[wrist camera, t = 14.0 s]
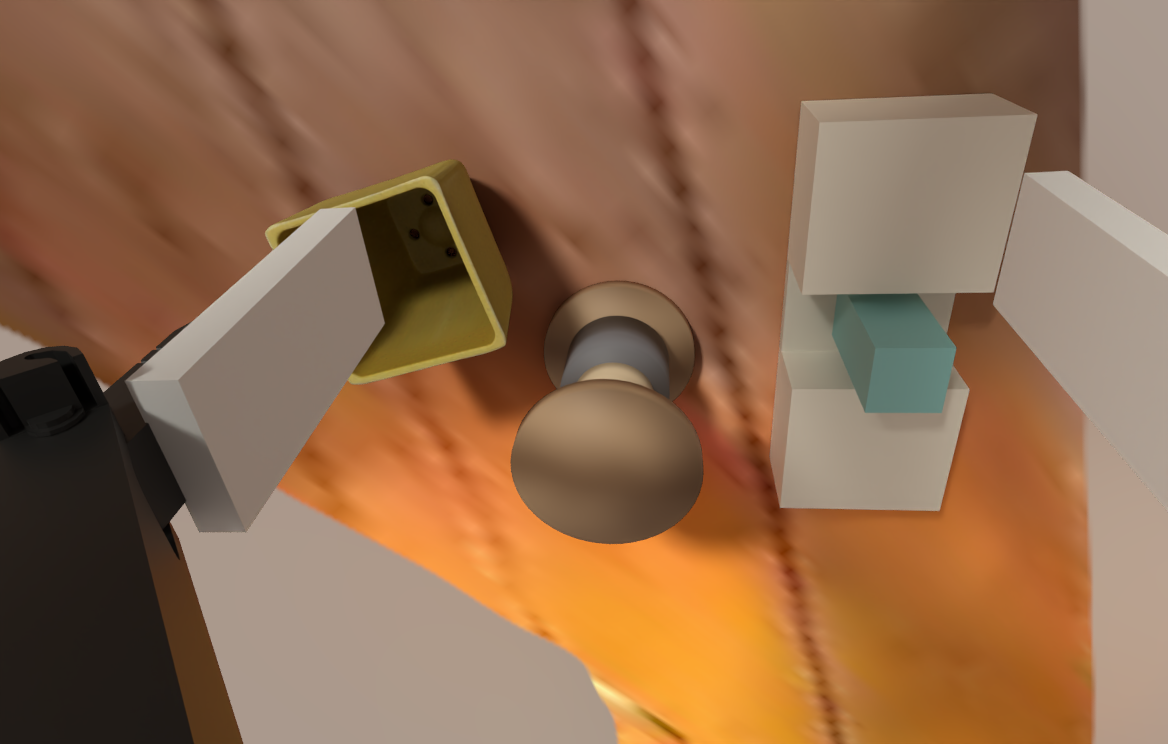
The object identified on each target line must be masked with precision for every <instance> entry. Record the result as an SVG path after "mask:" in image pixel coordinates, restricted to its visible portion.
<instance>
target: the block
mask: <svg viewBox="0 0 1168 744" xmlns="http://www.w3.org/2000/svg"><path fill="white" fill-rule="evenodd" d="M832 337H833V339H834V341H835V344H836V346H837V348H838V351H839V353H840V355H841V358H842V360H843V362H844V365H845V367H846V369H847V372H848V374H849V376H850V379H851V381H852V383H853V386H854V388H855V391H856V393H857V395H858V398H859V400H860V402H861V405H862V407H863V409H864V412H865V413H942V410H943V406H944V401H945V397H946V392H947V388H948V384H949V379H950V375H951V370H952V366H953V361H954V357H955V353H956V346H955V345H954V344H953V342H952V341H951V339H950V338H949V337H948V335H947V334H946V333H945V331H944V330H943V328H942V327H941V326H940V324H939V323H938V321H937V320H936V319H935V317H934V316H933V314H932V313H931V312H930V310H929V309H928V308H927V306H926V305H925V303H924V302H923V301H922V299H921V298H920V296H919V295H918V294H917V293H907V294H837V299H836V307H835V314H834V322H833V330H832Z"/></svg>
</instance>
